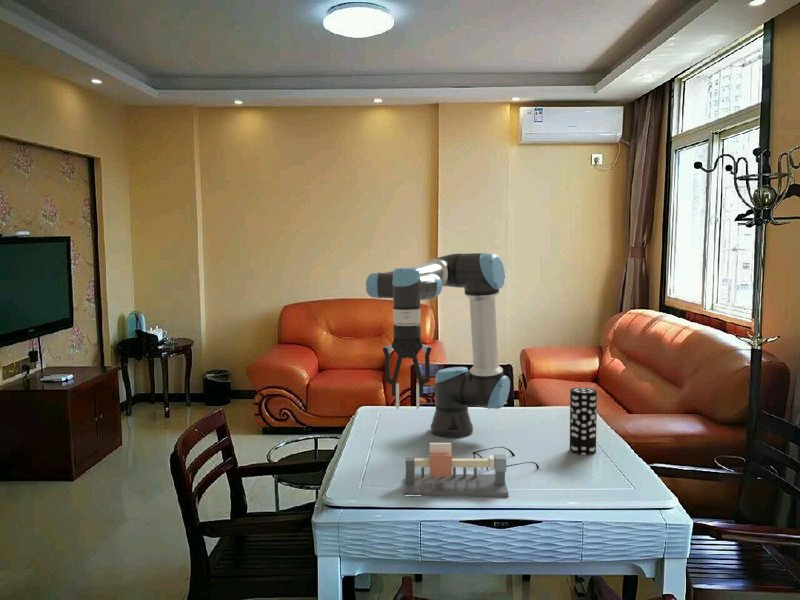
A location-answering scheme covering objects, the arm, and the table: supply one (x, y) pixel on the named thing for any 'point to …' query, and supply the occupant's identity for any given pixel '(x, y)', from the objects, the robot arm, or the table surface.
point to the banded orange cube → (440, 460)
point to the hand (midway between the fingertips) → (407, 407)
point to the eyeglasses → (508, 450)
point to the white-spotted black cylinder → (583, 420)
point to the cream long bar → (471, 462)
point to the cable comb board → (454, 483)
